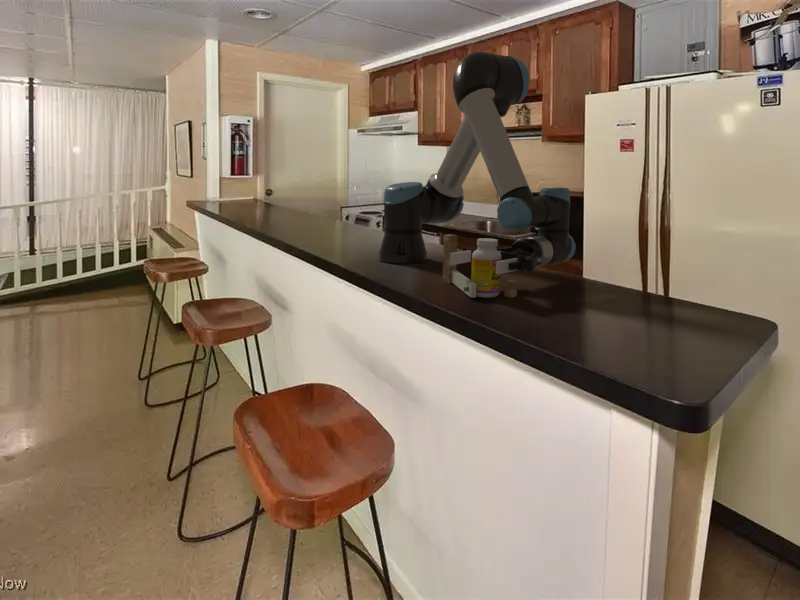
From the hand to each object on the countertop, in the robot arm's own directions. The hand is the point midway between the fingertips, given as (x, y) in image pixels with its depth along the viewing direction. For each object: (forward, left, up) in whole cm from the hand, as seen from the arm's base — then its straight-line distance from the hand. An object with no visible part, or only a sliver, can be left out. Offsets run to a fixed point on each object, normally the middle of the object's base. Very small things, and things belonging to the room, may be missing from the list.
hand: (473, 263), depth 119 cm
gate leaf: (-6, +3, -8) cm, 10 cm away
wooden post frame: (-5, +8, -8) cm, 12 cm away
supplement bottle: (0, +4, -8) cm, 9 cm away
